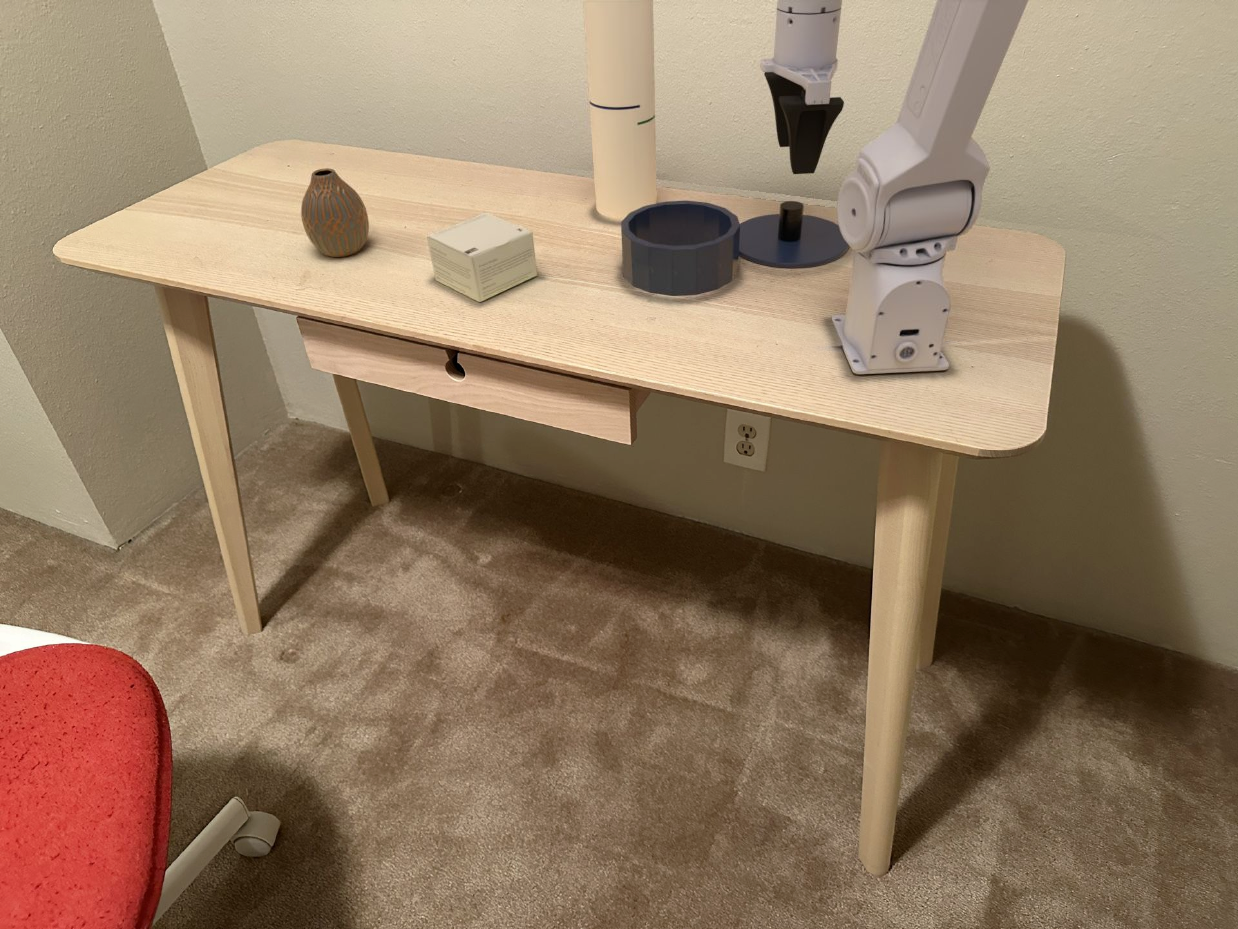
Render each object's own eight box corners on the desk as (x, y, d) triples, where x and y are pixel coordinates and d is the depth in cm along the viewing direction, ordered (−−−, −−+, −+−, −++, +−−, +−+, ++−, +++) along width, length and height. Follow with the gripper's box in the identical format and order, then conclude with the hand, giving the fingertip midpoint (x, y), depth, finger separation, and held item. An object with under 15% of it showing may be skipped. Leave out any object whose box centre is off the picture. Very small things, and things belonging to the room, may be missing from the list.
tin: (743, 297, 83) (746, 245, 80) (624, 303, 83) (622, 251, 80) (729, 246, 92) (731, 197, 89) (622, 251, 92) (619, 203, 89)
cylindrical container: (589, 204, 103) (572, -33, 87) (645, 195, 104) (639, -40, 89) (606, 226, 98) (592, -22, 82) (665, 216, 99) (662, -30, 83)
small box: (492, 255, 93) (486, 210, 90) (539, 277, 89) (534, 229, 85) (433, 280, 89) (424, 234, 86) (479, 304, 84) (471, 256, 81)
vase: (300, 261, 94) (276, 182, 89) (330, 234, 99) (310, 159, 94) (357, 265, 93) (336, 185, 87) (385, 238, 98) (367, 161, 92)
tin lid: (861, 270, 87) (867, 227, 84) (737, 276, 87) (739, 233, 84) (834, 220, 96) (839, 179, 93) (722, 225, 96) (724, 185, 94)
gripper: (753, -7, 83) (746, 136, 91) (777, 28, 71) (767, 187, 80) (826, -11, 83) (812, 133, 91) (862, 23, 71) (842, 184, 80)
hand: (795, 158), depth 86 cm, fingers open, 7 cm apart
